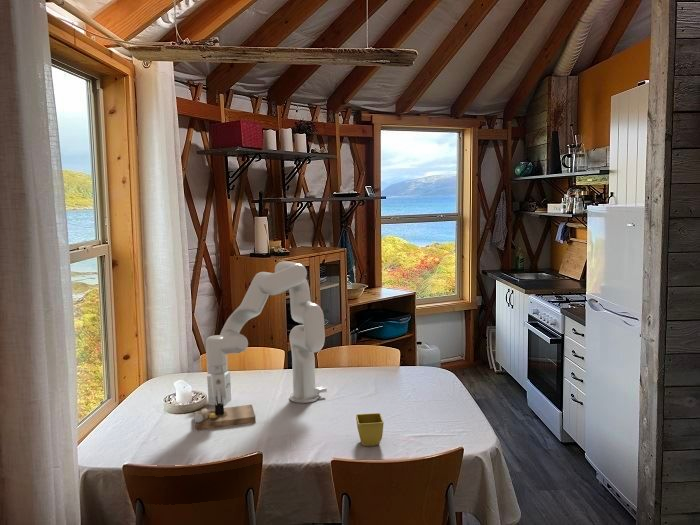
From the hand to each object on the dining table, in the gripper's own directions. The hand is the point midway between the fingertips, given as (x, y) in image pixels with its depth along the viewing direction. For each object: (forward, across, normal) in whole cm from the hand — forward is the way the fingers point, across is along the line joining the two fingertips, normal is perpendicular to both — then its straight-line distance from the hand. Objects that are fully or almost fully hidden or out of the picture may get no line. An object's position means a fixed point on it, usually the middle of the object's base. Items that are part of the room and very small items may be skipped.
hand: (219, 413), depth 209 cm
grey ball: (-1, -5, +8) cm, 9 cm away
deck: (+3, 0, -2) cm, 3 cm away
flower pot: (+3, -37, -49) cm, 61 cm away
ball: (+1, 0, +2) cm, 3 cm away
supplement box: (+3, +20, -1) cm, 20 cm away
